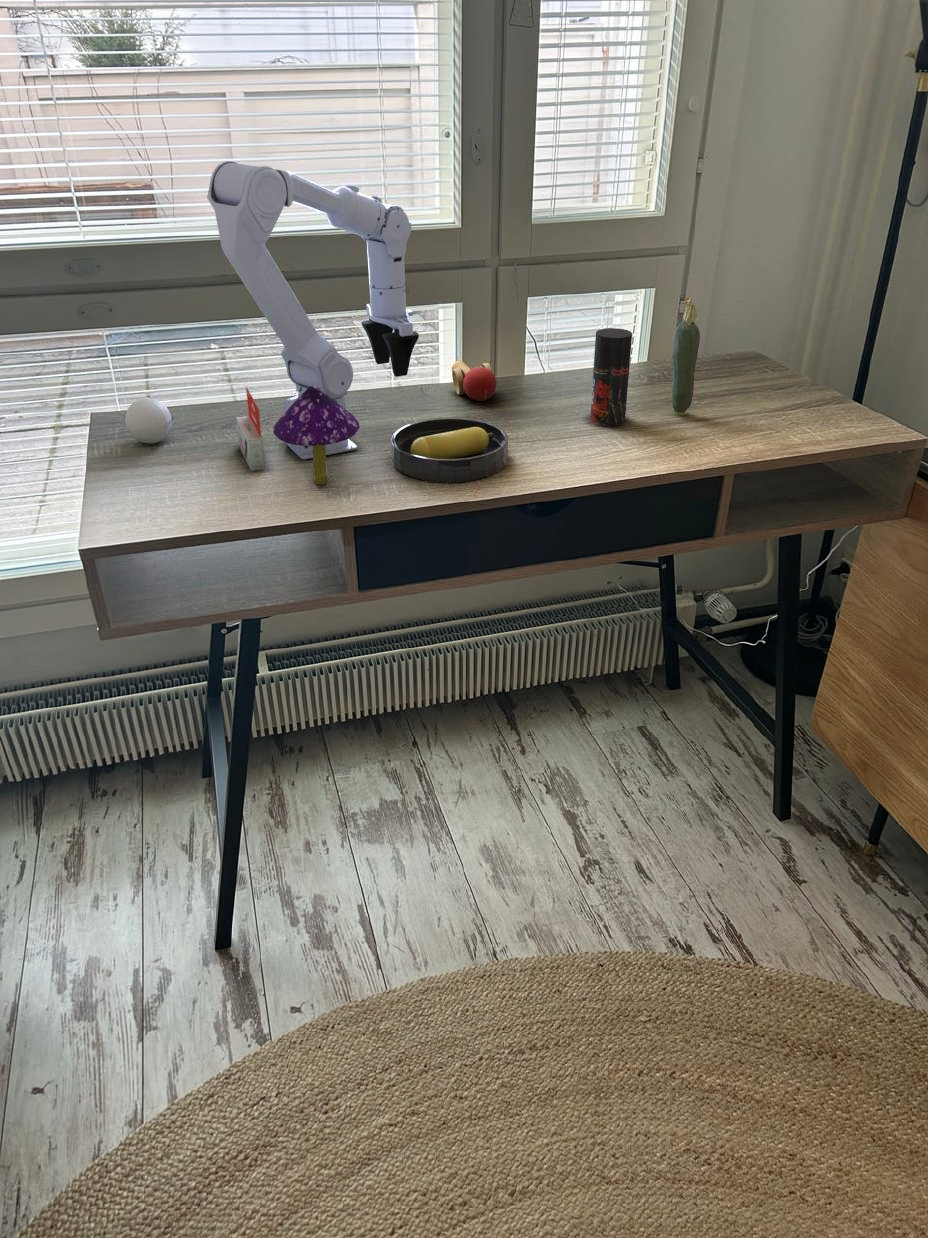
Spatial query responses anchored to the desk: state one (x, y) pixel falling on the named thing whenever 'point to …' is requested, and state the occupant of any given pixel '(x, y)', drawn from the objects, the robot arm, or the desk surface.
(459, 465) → the pan
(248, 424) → the ink box
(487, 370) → the kendama
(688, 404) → the vegetable
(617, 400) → the deodorant
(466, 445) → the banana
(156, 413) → the white egg
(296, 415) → the decorative mushroom
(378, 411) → the desk surface
